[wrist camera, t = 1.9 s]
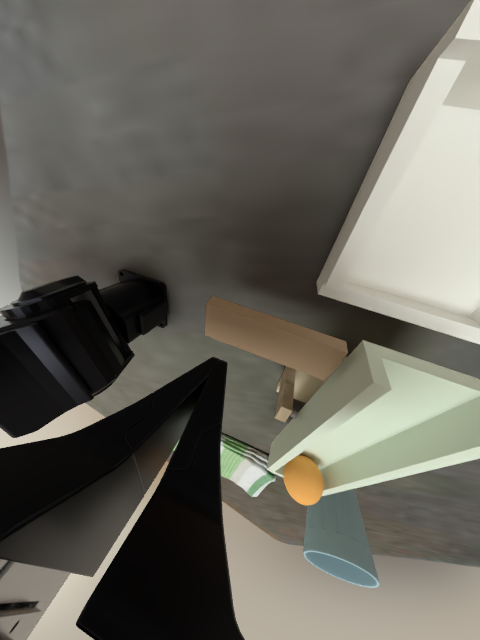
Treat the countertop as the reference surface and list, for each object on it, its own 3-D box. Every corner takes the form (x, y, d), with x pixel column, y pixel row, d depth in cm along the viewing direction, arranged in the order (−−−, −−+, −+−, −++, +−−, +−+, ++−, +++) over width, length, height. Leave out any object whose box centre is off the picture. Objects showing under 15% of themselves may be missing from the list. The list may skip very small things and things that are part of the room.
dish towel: (257, 485, 43) (254, 505, 40) (172, 442, 46) (162, 458, 43) (282, 456, 33) (280, 479, 31) (172, 404, 37) (161, 421, 34)
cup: (295, 453, 31) (290, 546, 22) (340, 449, 27) (357, 561, 18) (319, 479, 32) (324, 576, 24) (366, 479, 28) (393, 595, 20)
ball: (281, 454, 22) (276, 497, 19) (292, 443, 20) (288, 489, 17) (313, 469, 22) (313, 515, 19) (329, 459, 19) (332, 510, 16)
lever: (204, 411, 25) (193, 434, 23) (213, 289, 12) (189, 315, 10) (322, 465, 23) (322, 496, 21) (490, 382, 10) (539, 443, 8)
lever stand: (275, 384, 24) (265, 433, 19) (297, 339, 20) (293, 385, 15) (356, 417, 23) (372, 480, 17) (400, 375, 18) (439, 443, 13)
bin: (316, 282, 17) (319, 304, 12) (409, 80, 10) (480, -13, 6) (464, 326, 15) (524, 370, 11) (695, 115, 8) (1085, 15, 4)
